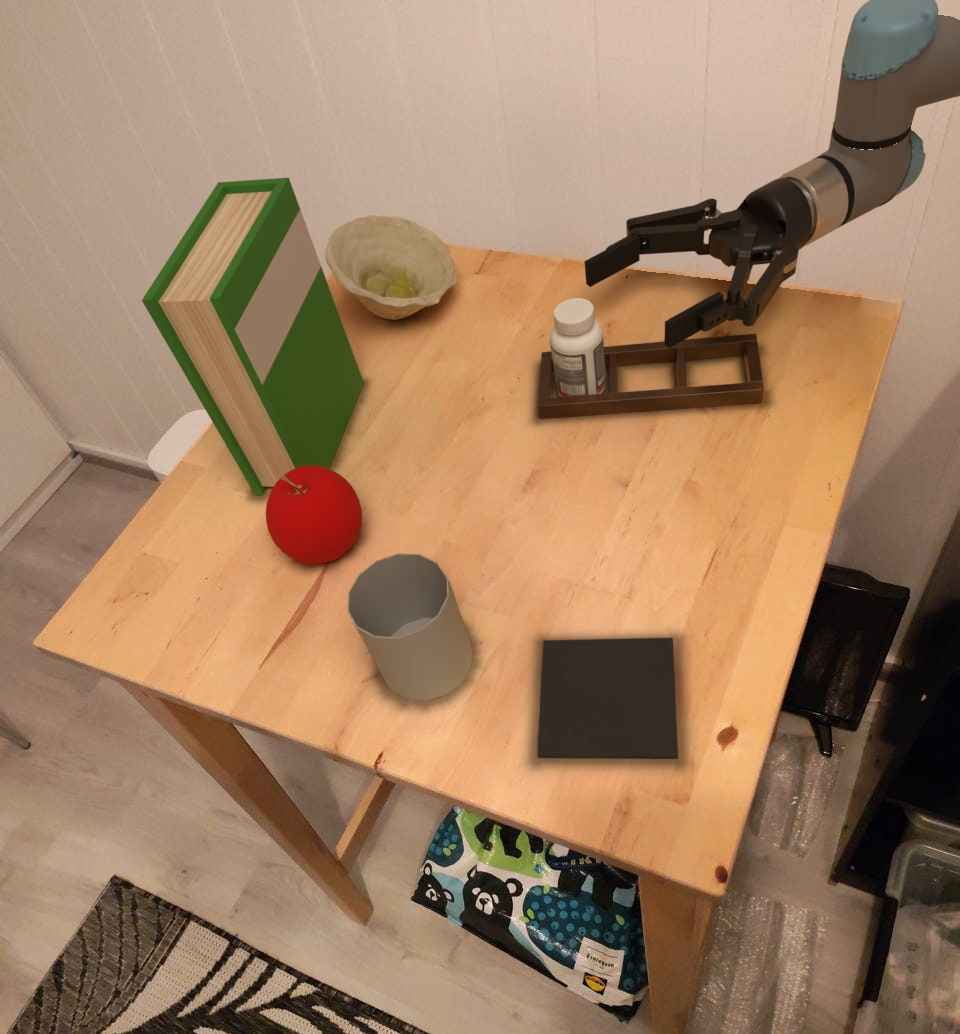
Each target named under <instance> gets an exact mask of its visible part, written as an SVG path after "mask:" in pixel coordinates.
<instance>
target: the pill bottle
mask: <svg viewBox="0 0 960 1034" xmlns="http://www.w3.org/2000/svg"><path fill="white" fill-rule="evenodd" d="M553 323H554V326H553V328H552V329H551V331H550V335H549V344H550V351H551V353H552V360H553V368H554V372H553V376H554V382H555V388H556V393H557V395H558V397H567V396H580V395H593V394H604V391H605V389H606V386H607V374H606V372H607V371H606V367H605V359H604V347H605V346H604V332H603V328H602V326H601V324H600V322H599V321H598V320H597V319H596V315H595V308H594V305H593V303H592V302H591V301H590V300H588V299H585V298H583V297H572V298H567V299H565V300H563V301H560V302H559V303H558V304H557V305H556V307H555V308H554V310H553Z"/></svg>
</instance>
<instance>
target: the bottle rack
mask: <svg viewBox="0 0 960 1034" xmlns="http://www.w3.org/2000/svg"><path fill="white" fill-rule="evenodd" d="M741 356H743V359H744V368H745V369H744V370H745V376H746V382H738V383H725V384H711V385H699V386H697V385H696V386H687V369H686V361H694V360H707V359H717V358H718V359H719V358H729V357H730V358H731V357H741ZM760 358H761V357H760V351H759V344H758V337H757V333H743V334H734V335H733V334H732V335H722V336H721V335H720V336H711V337H700V338H687V339H685V340H683V341H681V342H679V343H678V344H676V345H674V346H672V347H671V348H668V347H667V346H666V345H665V340H664V341H653V342H643V343H641V342H640V343H631V344H620V345H610V346H609V345H608V346H607V345H606V346H604V359H605V368H609V372H608V373H609V374H608V377H609V381H608V382H609V383H608V391H609V392H607V393H602V394H593V395H580V396H567V397H560V396H556V397H554V396H553V387H554V386H553V385H554V368H553V360H552V353H551V350H550V351H541V354H540V369H539V382H538V383H539V384H538V397H537V410H538V417H539V419H540V420H544V419H557V418H558V419H559V418H570V417H571V418H572V417H584V416H585V417H586V416H599V415H600V416H601V415H612V414H613V415H615V414H627V413H628V414H629V413H642V412H655V411H656V412H657V411H669V410H681V409H695V408H698V409H699V408H710V407H711V408H712V407H724V406H739V405H753V404H762V403H763V399H764V391H765V387H764V379H763V372H762V366H761V359H760ZM670 362H675V365H676V381H677V382H676V383H677V385H676V387H673V388H671V387H670V388H659V389H647V390H633V391H620V392H619V388H618V387H619V376H618V373H619V372H618V371H619V370H618V368H619V367H622V366H634V365H647V364H660V363H670Z"/></svg>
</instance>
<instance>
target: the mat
mask: <svg viewBox="0 0 960 1034" xmlns="http://www.w3.org/2000/svg"><path fill="white" fill-rule="evenodd" d="M542 646H543V647H542V665H541V682H540V703H539V719H538V738H537V754H536V755H537V758H538V759H622V760H623V759H625V760H627V759H628V760H629V759H630V760H631V759H633V760H634V759H636V760H637V759H638V760H639V759H640V760H644V759H645V760H650V759H651V760H653V759H654V760H677V759H678V758H679V752H678V729H677V728H678V727H677V706H676V705H677V704H676V701H677V700H676V683H675V682H676V681H675V679H676V678H675V677H676V676H675V658H674V657H675V656H674V637H646V638H645V637H643V638H641V637H640V638H637V637H636V638H597V639H596V638H594V639H592V638H591V639H550V640H549V639H546V640H543V645H542Z"/></svg>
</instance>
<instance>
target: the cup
mask: <svg viewBox="0 0 960 1034" xmlns="http://www.w3.org/2000/svg"><path fill="white" fill-rule="evenodd" d="M346 610H347V614H348V616H349V617H350V619H351V621H352V623H353V625H354V627H355V629H356V631H357V632H358V634H359V635H360V638H361V639H362V641H363V644H364V645H365V647H366V649H367V650H368V653H369V654H370V655H371V658H372V660H373V662H374V663H375V665H376V667H377V669H378V671H379V673H380V675H381V676H382V679H383V680H384V681H385V683H386V685H387V687H388V689H389V690H390V691H391V692H393V693H395V694H397V695H398V696H400V697H401V698H402V699H404V700H407V701H409V700H410V701H422V702H428V701H430V700H434V699H437V698H441V697H443V696H447V695H448V694H450V693H451V692H452V691H453V690H455V688H457V687H458V686H459V685H460V684H461V683H463V682H464V681H465V679H466V676H467V674H468V672H469V670H470V668H471V666H472V664H473V653H472V651H473V650H472V642H471V640H470V636H469V633H468V631H467V627H466V625H465V622H464V620H463V616H462V613H461V611H460V607H459V605H458V602H457V599H456V596H455V594H454V591H453V587H452V585H451V582H450V579H449V577H448V576H447V573H446V572H445V570H443V567H442V566H441V565H440V563H439V562H437V561H435V560H434V559H432V558H429V557H427V556H425V555H423V554H421V553H404V552H403V553H402V552H398V553H395V554H392V555H389V556H386V557H385V556H384V557H383V558H380V559H376V560H375V561H374V562H373V563H371V564H370V565H369V566H367V567H366V568H364V570H362V571H361V572H359V574H358V575H357V576H356V578H355V579H354V582H353V584H352V585H351V586H350V589H349V590H348V591H347V607H346Z"/></svg>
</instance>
